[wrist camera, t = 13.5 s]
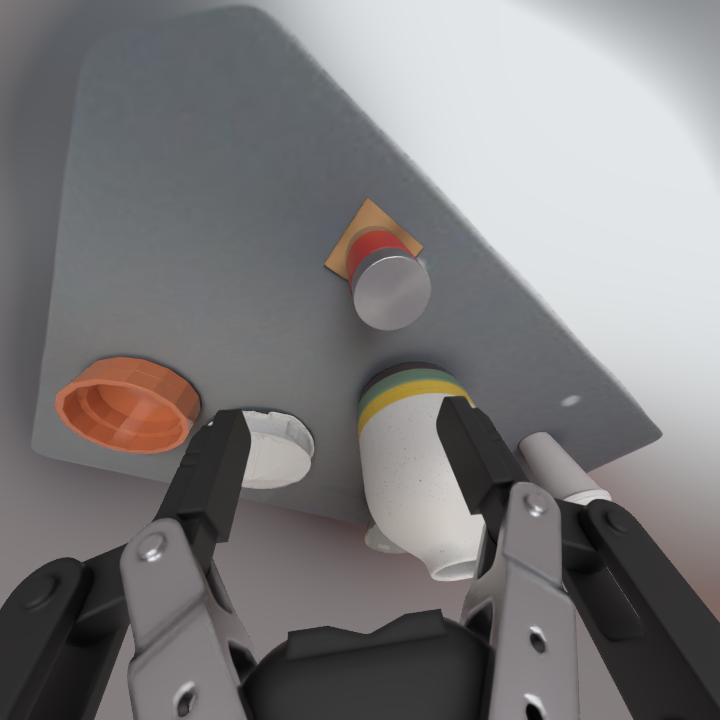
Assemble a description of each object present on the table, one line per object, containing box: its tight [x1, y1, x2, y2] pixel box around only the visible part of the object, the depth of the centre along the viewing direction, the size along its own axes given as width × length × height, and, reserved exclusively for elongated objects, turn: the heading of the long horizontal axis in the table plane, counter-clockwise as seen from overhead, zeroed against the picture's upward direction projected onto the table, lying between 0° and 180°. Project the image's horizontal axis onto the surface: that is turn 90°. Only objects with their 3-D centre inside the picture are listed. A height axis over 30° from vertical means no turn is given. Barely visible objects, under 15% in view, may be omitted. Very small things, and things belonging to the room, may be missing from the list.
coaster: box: [324, 198, 423, 281], centre depth 30 cm, size 8×8×1 cm
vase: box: [357, 362, 485, 581], centre depth 34 cm, size 17×17×24 cm
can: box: [346, 226, 431, 330], centre depth 25 cm, size 6×6×11 cm
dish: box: [55, 357, 201, 454], centre depth 37 cm, size 15×15×5 cm
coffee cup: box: [519, 432, 611, 506], centre depth 51 cm, size 10×10×15 cm
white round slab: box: [208, 411, 314, 489], centre depth 45 cm, size 20×20×7 cm
